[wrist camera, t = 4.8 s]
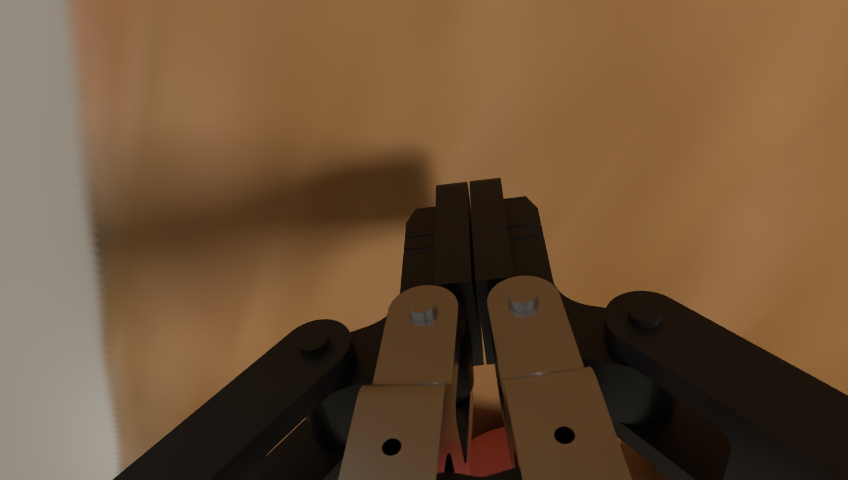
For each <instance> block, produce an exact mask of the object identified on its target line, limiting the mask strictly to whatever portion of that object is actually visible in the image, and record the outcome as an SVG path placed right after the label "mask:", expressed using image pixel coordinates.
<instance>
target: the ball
mask: <svg viewBox="0 0 848 480" xmlns="http://www.w3.org/2000/svg"><path fill="white" fill-rule="evenodd" d="M509 469H512V466H511V461H510V455H509V449H508V444H507V438H506V433H505V427H501V428H497V429H494V430H491V431H488V432H486V433H484V434H482V435H480V436H478V437H476V438H474V439H473V440H471V460H470V475H471V476H477V477H485V476H489V475H493V474H496V473H499V472H502V471H505V470H509Z"/></svg>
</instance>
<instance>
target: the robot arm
mask: <svg viewBox="0 0 848 480" xmlns="http://www.w3.org/2000/svg"><path fill="white" fill-rule="evenodd" d="M470 198H471V206H470ZM470 198H469V190H468V184H467V182H461V183H453V184H444V185H437V186H436V207H429V208H420V209H416V210H415V211H414V213H413V214H412V216H411V217H410V218H409V220H408V221H407V223H406V232H405V244H404V255H403V266H402V277H401V289H400V294H399V295H398V296H397V297H396V298H395V299H394V300H393V301H392V303H391V304H390V306H389V309H388V313H387V316H386V317H385V318H383V319H382V320H380V321H379V322H377V323H375V324H372V325H370V326H367V327H364V328H361V329H359V330H356V331H353V332H349V330H348V329H347V327H346V326H345V325H343V324H342V323H340V322H338V321H334V320H328V319H322V320H315V321H311V322H308V323H305V324H303V325H301V326H299V327H297V328H296V329H294V330H293V331H292V332H290V333H289V334H288V335H287V336H286V337H284V338H283V339H282V340H281V341H280V342H278V343H277V344H276V345H275V346H274V347H272V348H271V349H270V350H269V351H268V352H266V353H265V354H264V355H263V356H261V357H260V358H259V359H258V360H257V361H255V362H254V363H253V364H252V365H251V366H249V367H248V368H247V369H246V370H245V371H243V372H242V373H241V374H240V375H239V376H237V377H236V378H235V379H234V380H233V381H231V382H230V383H229V384H228V385H226V386H225V387H224V388H223V389H222V390H220V391H219V392H218V393H217V394H216V395H214V396H213V397H212V398H211V399H210V400H208V401H207V402H206V403H205V404H204V405H202V406H201V407H200V408H199V409H197V410H196V411H195V412H194V413H193V414H191V415H190V416H189V417H188V418H187V419H185V420H184V421H183V422H182V423H181V424H179V425H178V426H177V427H176V428H175V429H173V430H172V431H171V432H170V433H169V434H167V435H166V436H165V437H164V438H162V439H161V440H160V441H159V442H158V443H156V444H155V445H154V446H153V447H152V448H150V449H149V450H148V451H147V452H146V453H144V454H143V455H142V456H141V457H140V458H138V459H137V460H136V461H135V462H134V463H132V464H131V465H130V466H129V467H127V468H126V469H125V470H124V471H123V472H121V473H120V474H119V475H118V476H117V477H115V478H114V479H113V480H632V478H631V475H630V472H629V469H628V466H627V463H626V460H625V458H624V455H623V452H622V449H621V446H620V443H619V441H618V438H619V439H621V440H622V441H623V442H624V443H626V444H627V445H628V446H629V447H631V448H632V449H633V450H635V451H636V452H637V453H638V454H640V455H641V456H642V457H643V458H645V459H646V460H647V461H649V462H650V463H651V464H652V465H654V466H655V467H656V468H657V469H659V470H660V471H661V472H663V473H664V474H665V475H666V476H668V477H669V478H670V479H671V480H848V395H846V394H844V393H842V392H840V391H838V390H837V389H835V388H833V387H831V386H829V385H828V384H826V383H824V382H822V381H820V380H818V379H817V378H815V377H813V376H811V375H809V374H808V373H806V372H804V371H802V370H800V369H798V368H797V367H795V366H793V365H791V364H789V363H787V362H786V361H784V360H782V359H780V358H778V357H777V356H775V355H773V354H771V353H769V352H767V351H766V350H764V349H762V348H760V347H758V346H756V345H755V344H753V343H751V342H749V341H747V340H746V339H744V338H742V337H740V336H738V335H736V334H735V333H733V332H731V331H729V330H727V329H725V328H724V327H722V326H720V325H718V324H716V323H715V322H713V321H711V320H709V319H707V318H705V317H704V316H702V315H700V314H698V313H696V312H695V311H693V310H691V309H689V308H687V307H685V306H684V305H682V304H680V303H678V302H676V301H674V300H673V299H671V298H669V297H667V296H665V295H662V294H659V293H655V292H649V291H633V292H628V293H624V294H622V295H619V296H617V297H616V298H614V299H613V300H612V301H611V302H610V303H609V304H608V305H607V307H606V308H603V307H596V306H589V305H584V304H581V303H577V302H575V301H573V300H570V299H569V298H567V297H565V296H564V295H563V294H562V293H560V292H559V290H558V289H557V288H556V286H555V285H554V282H553V278H552V274H551V269H550V264H549V259H548V255H547V250H546V245H545V241H544V237H543V231H542V226H541V222H540V217H539V212H538V208H537V207H536V206H535V205H534V204H533V203H532V202H531V201H530V200H529V199H528V198H527V197H526V196H525V197H516V198H507V199H503V192H502V185H501V178H494V179H486V180H477V181H470ZM481 325H482V330H481ZM482 333H483V340H484V347H485V354H486V362H487V364H495V369H496V377H497V385H498V393H499V400H500V405H501V411H502V416H503V422H504V427H505V433H506V438H507V444H508V449H509V455H510V461H511V466H512V469H509V470H505V471H502V472H499V473H496V474H493V475H489V476H485V477H477V476H471V475H470V460H471V439H472V418H473V391H472V388H473V385H474V374H473V366H477V365H484V362H483V346H482ZM304 418H306V419H305V420H304V421H303V422H302V423H301V424H300V425H299V426H298V427H297V428H295V427H296V426H297V425H298V424H299V423H300V422H301V421H302V420H303V419H304ZM294 428H295V429H294ZM293 429H294V430H293ZM292 430H293V431H292ZM291 431H292V432H291ZM290 432H291V433H290ZM289 433H290V434H289ZM288 434H289V435H288ZM287 435H288V436H287ZM285 436H287V437H286V438H285V439H284V440H283V441H282V442H281V443H280V444H279V445H278V446H276V445H277V444H278V443H279V442H280V441H281V440H282V439H283V438H284V437H285ZM617 437H618V438H617ZM275 446H276V447H275ZM274 447H275V448H274ZM273 448H274V449H273ZM272 449H273V450H272ZM271 450H272V451H271ZM270 451H271V452H270ZM269 452H270V453H269ZM268 453H269V454H268ZM267 454H268V455H267ZM266 455H267V456H266Z"/></svg>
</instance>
